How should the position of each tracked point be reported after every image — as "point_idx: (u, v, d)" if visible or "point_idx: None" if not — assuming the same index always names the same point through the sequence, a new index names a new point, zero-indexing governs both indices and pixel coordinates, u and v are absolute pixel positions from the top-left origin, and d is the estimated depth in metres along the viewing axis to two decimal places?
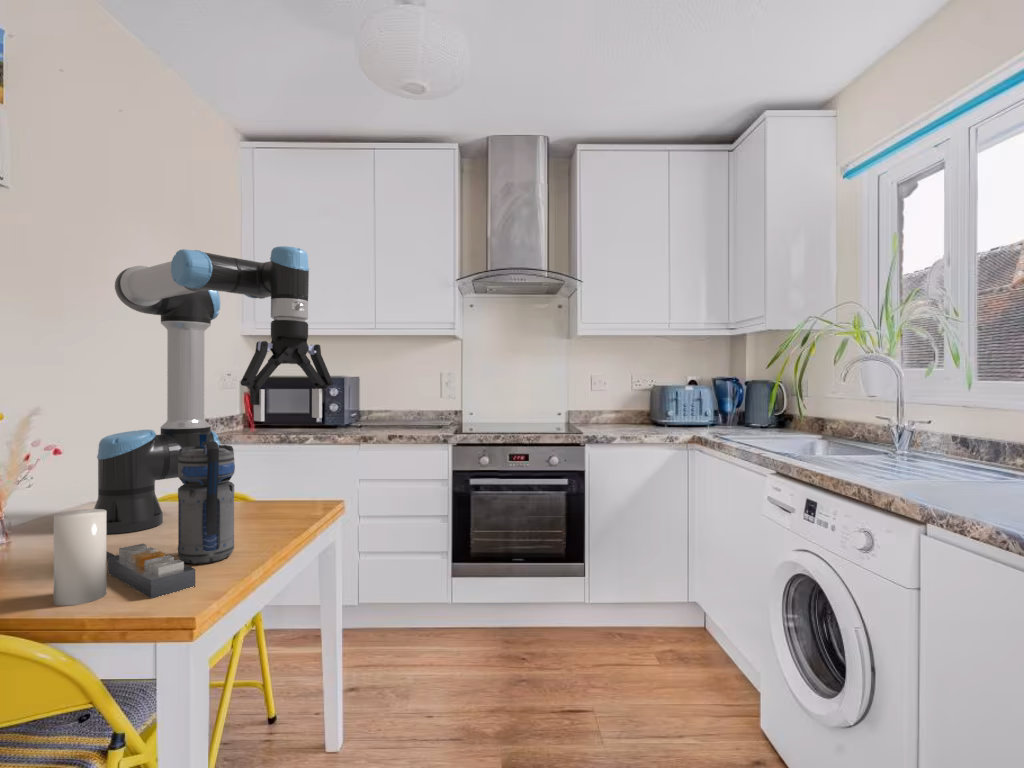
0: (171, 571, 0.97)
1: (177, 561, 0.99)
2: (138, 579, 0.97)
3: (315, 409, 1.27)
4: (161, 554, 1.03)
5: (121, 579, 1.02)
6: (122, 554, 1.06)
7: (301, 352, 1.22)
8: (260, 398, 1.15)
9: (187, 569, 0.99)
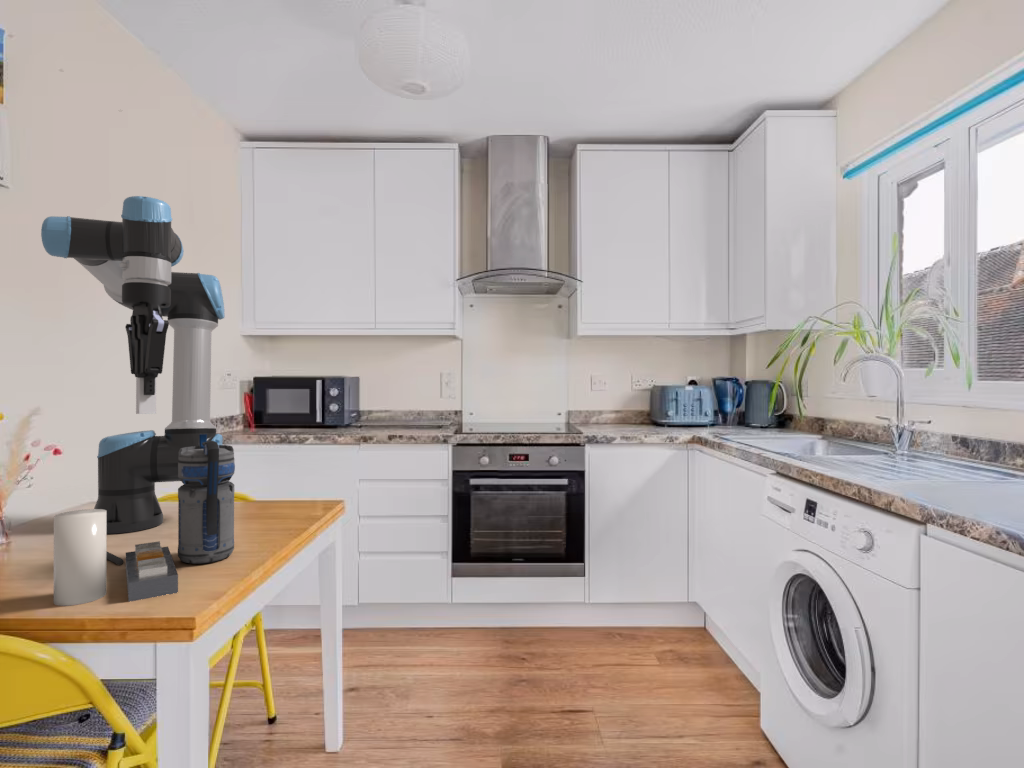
0: (153, 575, 0.95)
1: (162, 565, 0.97)
2: None
3: None
4: (160, 555, 1.03)
5: (126, 576, 1.03)
6: (135, 551, 1.07)
7: (137, 319, 1.00)
8: None
9: (171, 574, 0.97)
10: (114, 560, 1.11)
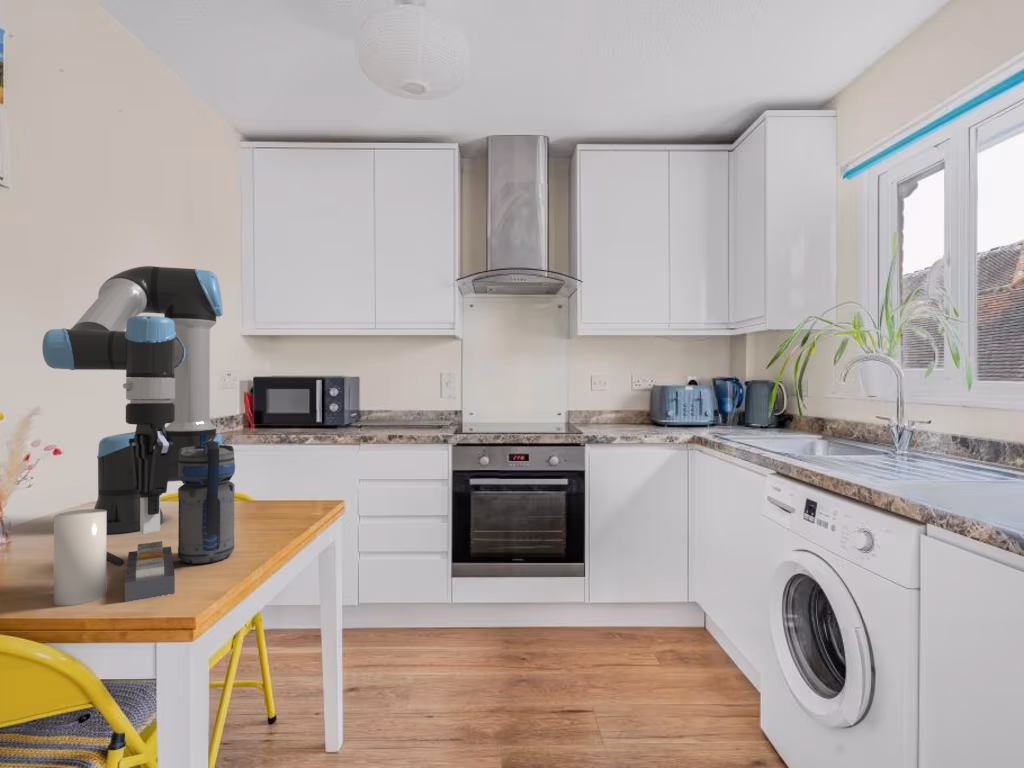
0: (150, 575, 0.95)
1: (159, 565, 0.97)
2: None
3: None
4: (159, 555, 1.03)
5: None
6: None
7: (142, 440, 1.00)
8: None
9: (168, 574, 0.96)
10: (114, 560, 1.11)
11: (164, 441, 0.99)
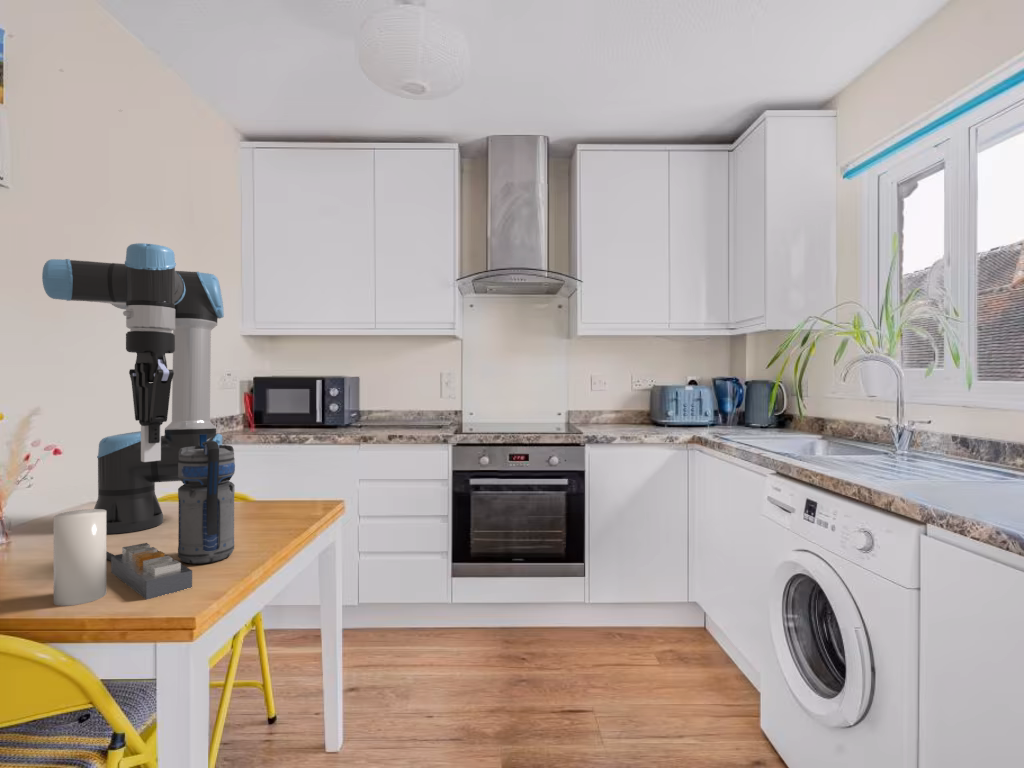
0: (168, 572, 0.97)
1: (174, 562, 0.98)
2: (136, 579, 0.97)
3: None
4: (161, 554, 1.03)
5: (122, 578, 1.02)
6: (125, 553, 1.06)
7: (142, 368, 1.00)
8: None
9: (184, 570, 0.99)
10: None
11: (164, 369, 0.99)
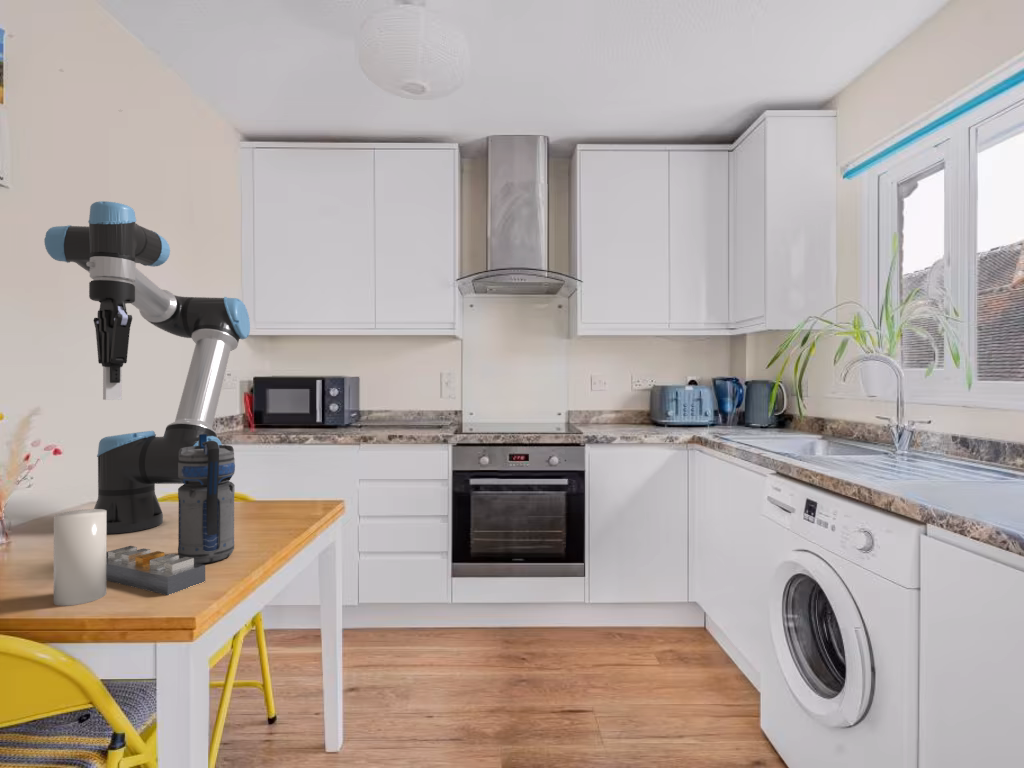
0: (183, 568, 0.99)
1: (186, 558, 1.01)
2: (147, 578, 0.98)
3: None
4: (161, 553, 1.04)
5: (119, 581, 1.01)
6: (113, 557, 1.04)
7: (104, 314, 1.11)
8: None
9: (197, 565, 1.01)
10: None
11: (123, 314, 1.10)
